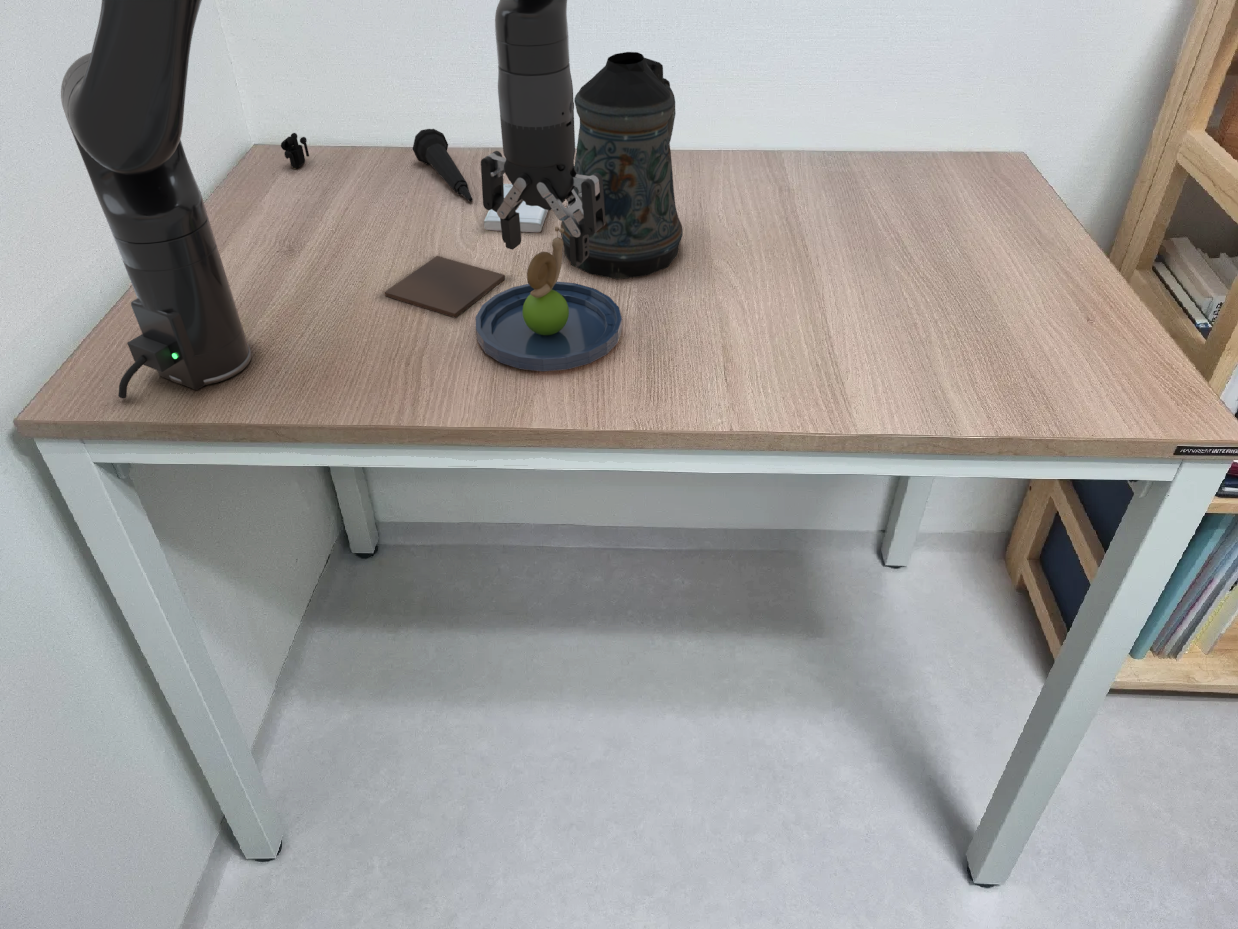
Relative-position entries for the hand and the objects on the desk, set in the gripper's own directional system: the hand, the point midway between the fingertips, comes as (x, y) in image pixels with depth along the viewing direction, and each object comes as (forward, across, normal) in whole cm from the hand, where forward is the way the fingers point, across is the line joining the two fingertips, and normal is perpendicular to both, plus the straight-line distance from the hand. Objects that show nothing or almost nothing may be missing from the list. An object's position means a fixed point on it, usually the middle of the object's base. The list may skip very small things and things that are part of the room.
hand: (545, 254), depth 104 cm
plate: (+10, 0, 0) cm, 10 cm away
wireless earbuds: (+10, -62, +23) cm, 67 cm away
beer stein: (+11, -3, +24) cm, 26 cm away
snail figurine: (+10, 0, 0) cm, 10 cm away
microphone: (+10, -38, +30) cm, 49 cm away
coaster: (+10, -17, +3) cm, 20 cm away
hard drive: (+11, -21, +26) cm, 35 cm away
